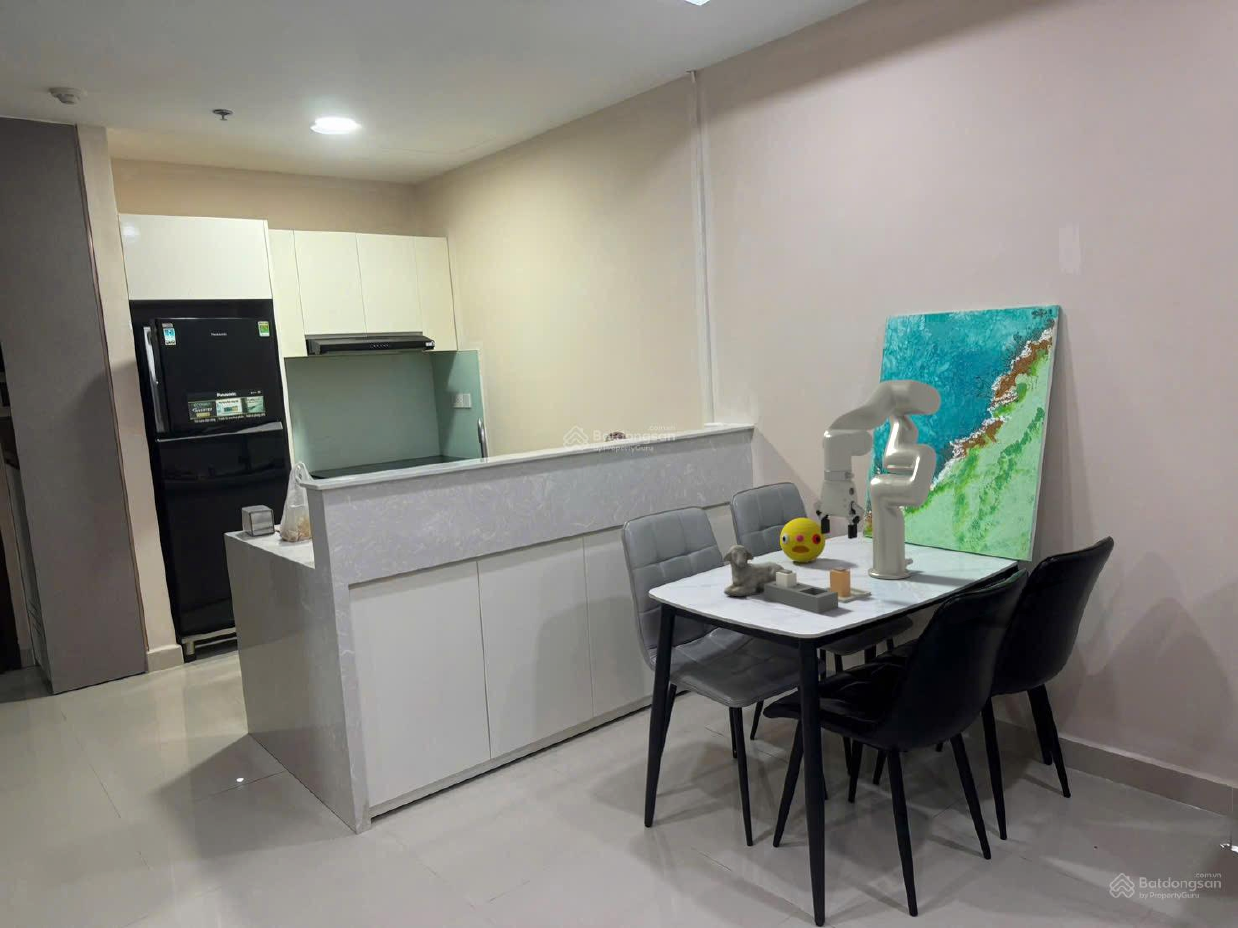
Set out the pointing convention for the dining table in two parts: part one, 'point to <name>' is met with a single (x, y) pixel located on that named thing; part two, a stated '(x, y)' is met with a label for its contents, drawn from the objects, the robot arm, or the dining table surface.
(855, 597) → the tray
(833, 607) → the pdu
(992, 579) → the dining table surface
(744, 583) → the sculpture
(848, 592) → the plug
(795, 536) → the toy
